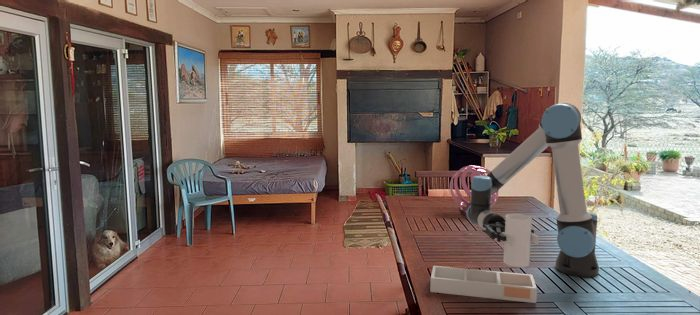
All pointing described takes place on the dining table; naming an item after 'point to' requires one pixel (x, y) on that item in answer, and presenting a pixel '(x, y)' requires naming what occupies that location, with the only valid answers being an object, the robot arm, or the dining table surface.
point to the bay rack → (483, 284)
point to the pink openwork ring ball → (463, 181)
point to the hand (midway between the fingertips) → (525, 241)
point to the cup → (518, 240)
